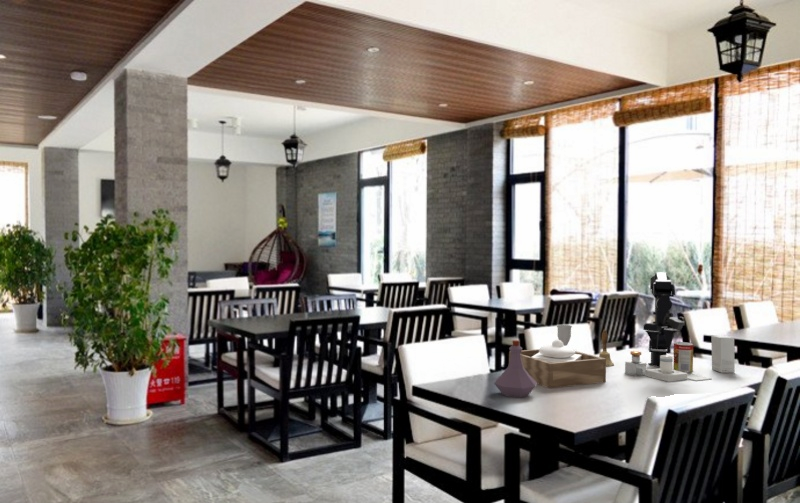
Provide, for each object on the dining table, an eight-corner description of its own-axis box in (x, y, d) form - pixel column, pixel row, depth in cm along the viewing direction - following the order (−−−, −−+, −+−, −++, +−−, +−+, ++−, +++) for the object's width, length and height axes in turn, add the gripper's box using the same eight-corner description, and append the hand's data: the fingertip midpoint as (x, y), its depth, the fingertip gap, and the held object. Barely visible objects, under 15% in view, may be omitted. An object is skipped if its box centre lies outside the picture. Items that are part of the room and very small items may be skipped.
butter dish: (529, 379, 252) (529, 340, 252) (540, 370, 268) (541, 334, 268) (572, 384, 244) (573, 344, 244) (581, 375, 260) (582, 338, 260)
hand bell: (595, 365, 282) (595, 331, 282) (595, 362, 290) (595, 328, 290) (614, 366, 280) (615, 332, 279) (613, 363, 288) (614, 329, 287)
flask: (506, 387, 239) (507, 336, 239) (545, 393, 229) (546, 340, 228) (484, 395, 227) (485, 341, 226) (524, 402, 216) (525, 346, 216)
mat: (678, 376, 260) (678, 375, 260) (693, 374, 264) (693, 374, 264) (696, 381, 252) (696, 380, 252) (711, 379, 255) (711, 378, 255)
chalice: (552, 363, 286) (553, 325, 285) (564, 362, 289) (564, 324, 288) (563, 366, 279) (563, 327, 279) (574, 365, 282) (575, 326, 282)
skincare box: (734, 373, 268) (735, 337, 268) (719, 373, 268) (720, 337, 268) (725, 369, 276) (725, 334, 276) (710, 369, 276) (710, 334, 276)
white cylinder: (657, 376, 260) (657, 355, 260) (665, 375, 262) (665, 354, 261) (666, 379, 255) (666, 357, 255) (674, 378, 257) (675, 356, 257)
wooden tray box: (508, 373, 263) (509, 351, 263) (561, 368, 275) (561, 347, 274) (549, 388, 238) (549, 363, 238) (605, 381, 249) (606, 358, 249)
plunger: (627, 367, 266) (628, 351, 266) (635, 366, 268) (635, 350, 267) (635, 369, 262) (635, 353, 262) (643, 368, 264) (643, 352, 263)
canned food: (688, 368, 277) (689, 342, 277) (695, 372, 269) (696, 345, 269) (670, 368, 278) (671, 341, 278) (677, 371, 270) (677, 344, 270)
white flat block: (645, 375, 262) (645, 369, 262) (664, 373, 266) (664, 367, 266) (667, 381, 251) (667, 375, 251) (687, 379, 255) (687, 373, 255)
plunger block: (625, 373, 266) (625, 361, 266) (635, 371, 269) (635, 360, 269) (635, 375, 261) (635, 364, 261) (646, 374, 263) (646, 363, 263)
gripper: (667, 311, 246) (666, 350, 245) (693, 311, 256) (693, 348, 256) (642, 309, 255) (642, 347, 255) (669, 309, 265) (668, 345, 265)
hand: (662, 347), depth 257 cm, fingers open, 9 cm apart
